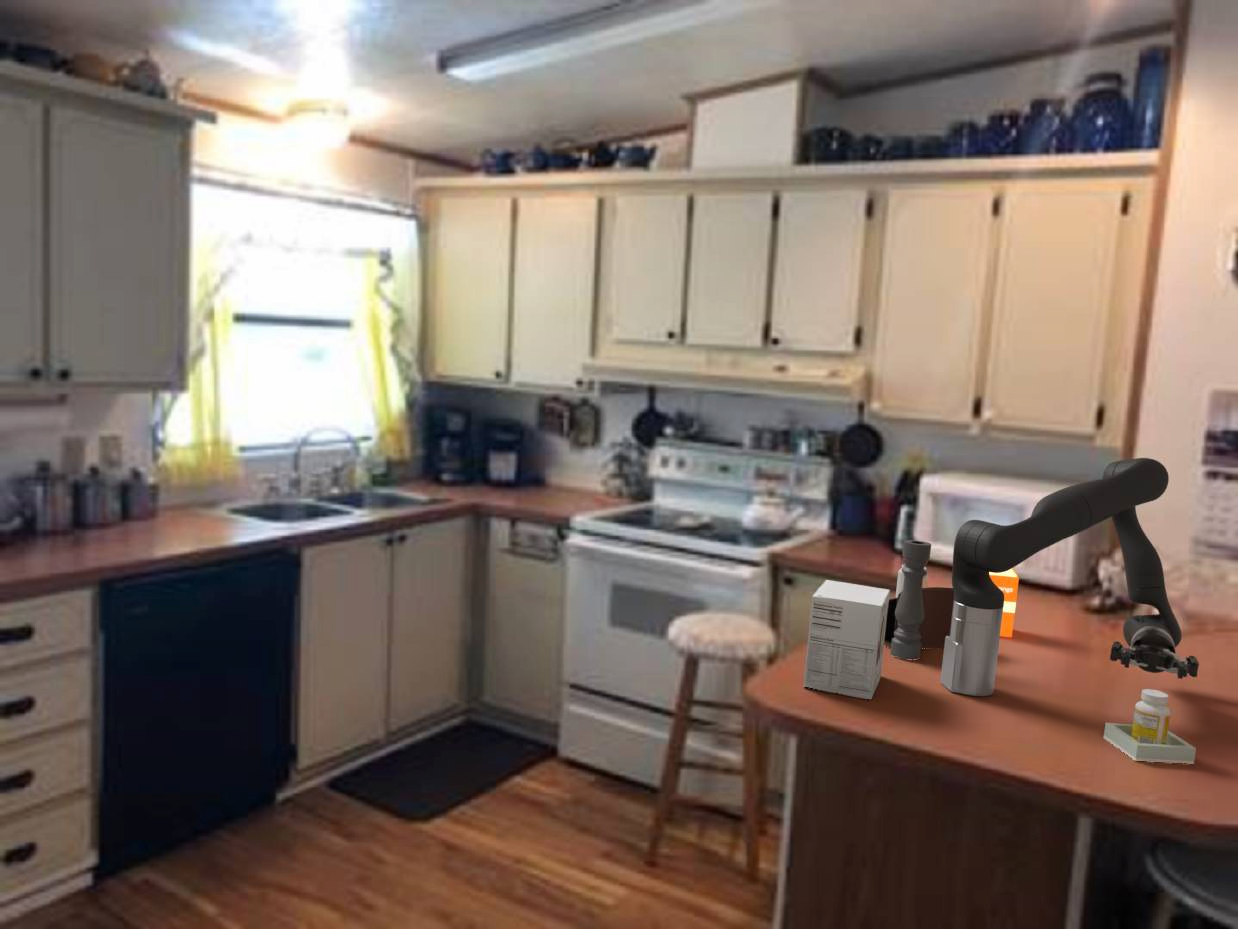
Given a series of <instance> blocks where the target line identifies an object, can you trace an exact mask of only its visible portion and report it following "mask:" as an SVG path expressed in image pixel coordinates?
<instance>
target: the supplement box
mask: <svg viewBox="0 0 1238 929" xmlns="http://www.w3.org/2000/svg"><path fill="white" fill-rule="evenodd" d="M890 595H891V590H890V589H886V588H879V587H873V586H869V585H862V584H855V583H850V582H843V581H837V580H836V581H835V580H830V579H825V580H824V581H823V583H822V584H821V585H820V586H818V588H817V589H816V591H815V592H814V593H813V594H812V597H811V606H810V615H809V626H808V636H807V637H808V638H807V647H806V648H807V649H806V657H805V658H806V659H805V669H804V678H803V680H804V681H803V688H804V687H809V688H808V689H810V688H813V689H812V690H815V689H817V691H821V690H822V691H821V692H827V693H831V694H836V693H838V694H837V695H841V694H842V696H848V697H853V698H859V699H864V700H867V699H869V700H868V701H871V700H872V698H873V696H874V693H875V691H876V689H877V687H878V685H879V683H880V680H881V678H882V671H883V670H882V669H883V668H882V666H883V655H884V648H885V646H884V638H885V629H886V620H887V611H888V604H889V599H890ZM870 699H871V700H870Z"/></svg>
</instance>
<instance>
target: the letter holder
mask: <svg viewBox="0 0 1238 929" xmlns="http://www.w3.org/2000/svg"><path fill="white" fill-rule="evenodd" d="M901 593H902V592H901ZM901 593H899V595H898V598H896V597H893V598H889V604H888V611H887V620H886V629H885V638H884V645H886V646H888V647H889V648H891V643H892V639H893V638H894V637H895V636H894V632H895V631H896V629H897V628H898V627H899V625H898V623H899V622H898V621H897V619H896V616H895V610H896V607H897V604H898V601H899V599H900V596H901ZM922 599H923V607H924V614H925V616H924V620H923V621H922V623H921V624H919V628H918V629H917V630H918V632H919V634H920V635H921V639H920V640H919V641H920V642H921V650H927V649H926V648H941V649H944V645H945V637H946V636H950V628H951V619H952V611H953V602H954V590H953V587H943V586H942V587H939V586H938V587H937V586H936V587H935V586H932V587H927V588H922ZM889 648H888V649H889ZM922 648H923V649H922ZM924 648H925V649H924Z"/></svg>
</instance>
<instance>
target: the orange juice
mask: <svg viewBox="0 0 1238 929" xmlns="http://www.w3.org/2000/svg"><path fill="white" fill-rule="evenodd" d="M989 574H990V577H991V579H992V581H993V582H994V584H995V585H996V586H997V587H998V588H999V589H1001V590H1002V592H1003V593H1004V607H1003V615H1002V622H1001V631H1000V637H1005V638H1013V630H1014V622H1015V613H1016V606H1017V598H1018V588H1019V581H1020V580H1019V579H1020V577H1018V575H1017V573H1016V571H1015V569H1014V568H1012V569H1010V570H1008V571H1005V572H1001V573H993V572H989Z"/></svg>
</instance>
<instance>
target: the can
mask: <svg viewBox="0 0 1238 929" xmlns="http://www.w3.org/2000/svg"><path fill="white" fill-rule="evenodd" d="M905 566H906V565H905V563H904V564H901V568H899V569H898V571H897V581H896V591H895V598H898V595H899V593H901V592H902V590H903V585H904V573H903V572H902V568H904V567H905ZM924 569H925V570H926V572H927V567H926V566H925V567H924ZM929 575H930V574H929V573H928V572H927V575H925V576H924V578H923V583H922V588H928V584H929Z"/></svg>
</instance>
